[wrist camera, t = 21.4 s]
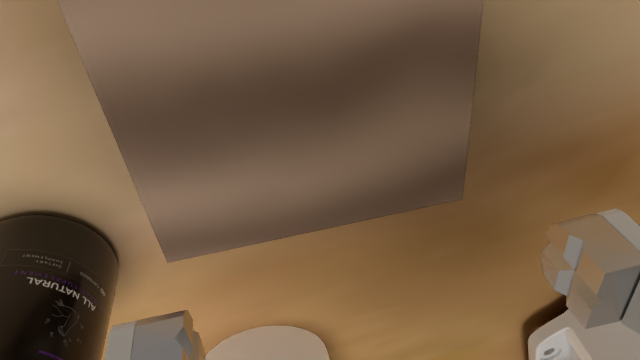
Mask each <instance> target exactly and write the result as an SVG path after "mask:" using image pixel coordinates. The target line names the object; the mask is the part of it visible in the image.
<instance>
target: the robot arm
mask: <svg viewBox="0 0 640 360" xmlns="http://www.w3.org/2000/svg"><path fill="white" fill-rule="evenodd" d="M546 237H547V238H548V239H549V240H550V243H549V244H548V245H547V246H546V247H545V248H544V249H543V251H542V257H541V264H542V269H543V273H544V275H545V277H546V279H547V281H548V282H549V284H550V285H551V287H552V288H553V289H554V290H555V291H557V292H559V293H561V294H563V295H565V296H566V306H567V307H568V310H567V311H565V312H564V313H563V314H561V315H560V316H558V317H556V318H555V319H553V320H551V321H550V322H548V323H546V324H545V325H543V326H541V327H540V328H539V329H537V330H536V331H535V332H533V333H532V334H531V335H530V337H529V339H528V352H529V360H640V226H639V225H638V224H637V223H636V222H635V221H634V220H632V219H631V218H630V217H629V216H628V215H627V214H626V213H625V212H623V211H622V210H619V209H617V208H615V209H611V210H607V211H603V212H598V213H595V214H589V215H585V216H580V217H576V218H572V219H568V220H564V221H560V222H556V223H552V225H551V226H550V227H549V228H548V231H547V235H546ZM104 360H206V359H205V352H204V347H203V343H202V340H201V338H200V335H199V333H198V332H196V331H194V330H193V319H192V317H191V315H190V313H189V311H188V310H184V311H179V312H175V313H170V314H165V315H160V316H155V317H151V318H146V319H141V320H137V321H133V322H128V323H124V324H119V325H114V326H113V327H112V329H111V331H110V333H109V336H108V342H107V347H106V353H105V358H104Z"/></svg>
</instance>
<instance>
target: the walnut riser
mask: <svg viewBox="0 0 640 360" xmlns="http://www.w3.org/2000/svg"><path fill="white" fill-rule="evenodd" d="M57 2H58V5H59V7H60V10H61V12H62V14H63V17H64V19H65V21H66V24H67V26H68V28H69V31H70V33H71V36H72V38H73V40H74V43H75V45H76V47H77V50H78V52H79V55H80V57H81V59H82V62H83V64H84V66H85V69H86V71H87V73H88V76H89V78H90V81H91V83H92V85H93V88H94V90H95V92H96V95H97V97H98V100H99V102H100V104H101V107H102V109H103V111H104V114H105V116H106V118H107V121H108V123H109V126H110V128H111V130H112V133H113V135H114V137H115V140H116V142H117V144H118V147H119V149H120V152H121V154H122V156H123V159H124V161H125V163H126V166H127V168H128V171H129V173H130V175H131V178H132V180H133V182H134V185H135V187H136V189H137V192H138V194H139V197H140V199H141V201H142V204H143V206H144V208H145V211H146V213H147V216H148V218H149V220H150V223H151V225H152V227H153V230H154V232H155V234H156V237H157V239H158V242H159V244H160V246H161V249H162V251H163V253H164V256H165V258H166V261H167V263H169V262H174V261H178V260H183V259H188V258H192V257H197V256H202V255H206V254H211V253H216V252H220V251H225V250H230V249H234V248H239V247H243V246H248V245H253V244H257V243H262V242H267V241H271V240H276V239H281V238H285V237H290V236H295V235H299V234H304V233H309V232H313V231H318V230H322V229H327V228H332V227H336V226H341V225H346V224H350V223H355V222H360V221H364V220H369V219H374V218H378V217H383V216H388V215H392V214H397V213H401V212H406V211H411V210H415V209H420V208H425V207H429V206H434V205H439V204H443V203H448V202H453V201H457V200H462V199H463V190H464V180H465V171H466V161H467V152H468V142H469V133H470V123H471V113H472V104H473V94H474V85H475V75H476V66H477V56H478V46H479V37H480V27H481V18H482V8H483V0H57Z"/></svg>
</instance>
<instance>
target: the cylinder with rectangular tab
mask: <svg viewBox="0 0 640 360" xmlns="http://www.w3.org/2000/svg"><path fill="white" fill-rule="evenodd" d="M205 359H206V360H329V356H328V352H327V349H326V346H325V344H324V342H323V341H322V340H321V339H320V338H319V337H318V336H317V335H315V334H313V333H311V332H309V331H307V330H305V329H302V328H297V327H293V326H278V325H271V326H264V327H257V328H252V329H249V330H246V331H243V332H240V333H237V334H235V335H233V336H231V337H229V338H227V339H225V340H223V341H221V342H220V343H219V344H218V345H216V346H215V347H214V348H213V349H211V350H210V351H209V352H208V354H207V355H206V357H205Z"/></svg>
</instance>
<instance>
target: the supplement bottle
mask: <svg viewBox="0 0 640 360" xmlns="http://www.w3.org/2000/svg"><path fill="white" fill-rule="evenodd" d="M117 279H118V264H117V260H116V257H115V255H114V253H113V251H112V249H111V248H110V246H109V245H108V244H107V243H106V241H105V240H104V239H103V238H101V237H100V236H99V235H98V234H97V233H95V232H94V231H93V230H91V229H89V228H88V227H86V226H84V225H82V224H79V223H77V222H75V221H72V220H69V219H65V218H61V217H56V216H48V215H27V216H20V217H14V218H10V219H7V220H4V221H1V222H0V360H101V359H102V354H103V349H104V344H105V339H106V334H107V330H108V325H109V320H110V315H111V310H112V305H113V300H114V296H115V290H116V285H117Z"/></svg>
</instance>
